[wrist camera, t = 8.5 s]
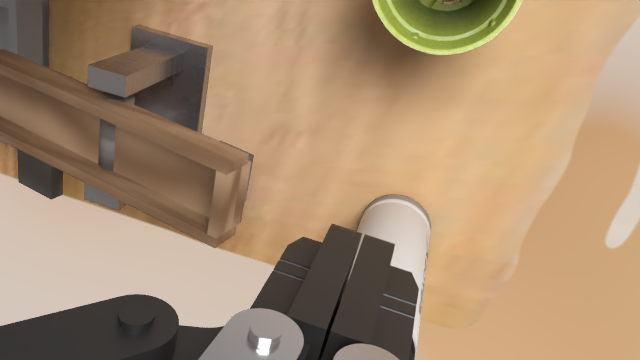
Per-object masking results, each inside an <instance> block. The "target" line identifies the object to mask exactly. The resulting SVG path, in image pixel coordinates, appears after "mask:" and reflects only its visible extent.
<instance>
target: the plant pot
mask: <svg viewBox="0 0 640 360" xmlns="http://www.w3.org/2000/svg"><path fill="white" fill-rule="evenodd" d="M443 1H444V0H372V2H373V5H374V8H375V10H376V12H377V14H378V16H379V18H380V20H381V21H382V23H383V24H384V26H385V27H386V28H387V30H388V31H389V32H390V33H391V34H392V35H393V36H394V37H395V38H397V39H398V40H399V41H401V42H402V43H403V44H405V45H407V46H408V47H410V48H413V49H415V50H418V51H420V52H424V53H428V54H433V55H452V54H459V53H463V52H467V51H470V50H473V49H475V48H477V47H480V46H482V45H483V44H485V43H487V42H489V41H490V40H492V39H493V38H494V37H495V36H496V35H498V34H499V33H500V32H501V31H502V30H503V29H504V28H505V27H506V26H507V25H508V24H509V22H510V21H511V20H512V19H513V17H514V16H515V14H516V13H517V11H518V9H519V7H520V5H521V3H522V1H523V0H461V1H460V2H459V3H454V4H452V5H444V4H443ZM446 1H447V0H446Z"/></svg>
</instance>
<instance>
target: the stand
mask: <svg viewBox="0 0 640 360" xmlns="http://www.w3.org/2000/svg"><path fill="white" fill-rule="evenodd" d="M212 47H213V46H211V45H208V44H204V43H200V42H197V41H193V40H190V39H186V38H183V37H179V36H176V35H172V34H169V33H165V32H162V31H158V30H155V29H151V28H148V27H144V26H140V25H137V26H133V29H132V45H131V51H128V52H125V53H122V54H119V55H116V56H113V57H111V58H108V59H105V60H102V61H99V62H96V63H93V64H90V65H88V87H91V88H95V89H98V90H101V91H105V92H108V93H111V94H115V95H118V96H121V97H124V98H125V97H127V96H129V95H134V97H135V102H134V105H135V106H138V107H140V108H142V109H145V110H147V111H149V112H152V113H154V114H156V115H159V116H161V117H163V118H166V119H168V120H170V121H173V122H175V123H177V124H180V125H182V126H184V127H187V128H189V129H191V130H194V131H196V132H198V133H202V125H203V117H204V110H205V102H206V94H207V86H208V79H209V71H210V63H211V55H212ZM84 199H85V200H88V201H91V202H94V203H97V204H100V205H103V206H106V207H109V208H112V209H115V210H120V209H121V208H122V207H123V206H125V205H126V203H124V202H122V201H120V200H119V199H117V198H115V197H113V196H111V195H109V194H107V193H105V192H103V191H101V190H99V189H97V188H95V187H93V186H91V185H89V184H87V183H85V198H84Z"/></svg>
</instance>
